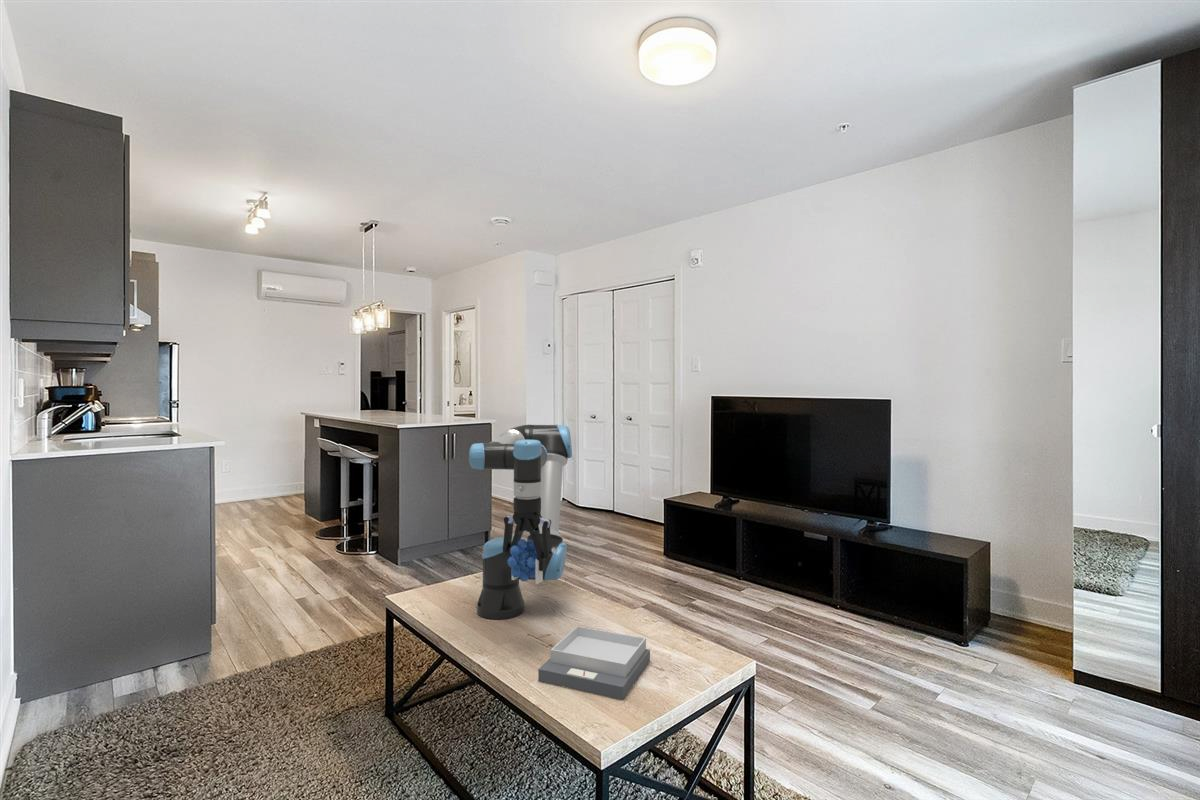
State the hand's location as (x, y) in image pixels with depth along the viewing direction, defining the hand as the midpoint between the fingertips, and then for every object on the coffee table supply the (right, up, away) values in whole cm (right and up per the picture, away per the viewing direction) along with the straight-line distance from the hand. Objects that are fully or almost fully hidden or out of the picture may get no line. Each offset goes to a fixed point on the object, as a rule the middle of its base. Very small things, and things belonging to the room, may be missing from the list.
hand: (527, 580), depth 157 cm
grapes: (0, -1, 0) cm, 1 cm away
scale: (+19, -20, -11) cm, 30 cm away
